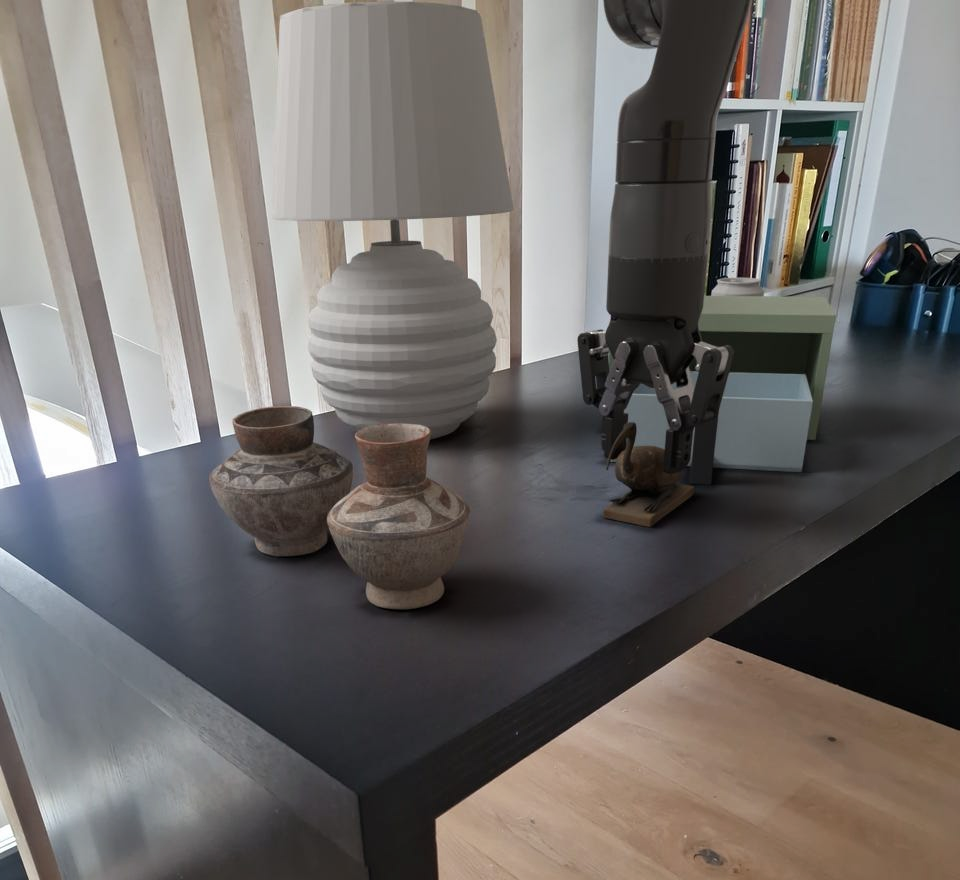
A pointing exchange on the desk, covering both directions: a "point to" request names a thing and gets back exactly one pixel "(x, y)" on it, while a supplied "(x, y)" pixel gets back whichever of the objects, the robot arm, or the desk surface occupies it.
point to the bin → (737, 424)
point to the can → (738, 287)
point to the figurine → (644, 483)
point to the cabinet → (772, 337)
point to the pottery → (345, 502)
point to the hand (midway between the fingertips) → (643, 463)
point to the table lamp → (392, 200)
